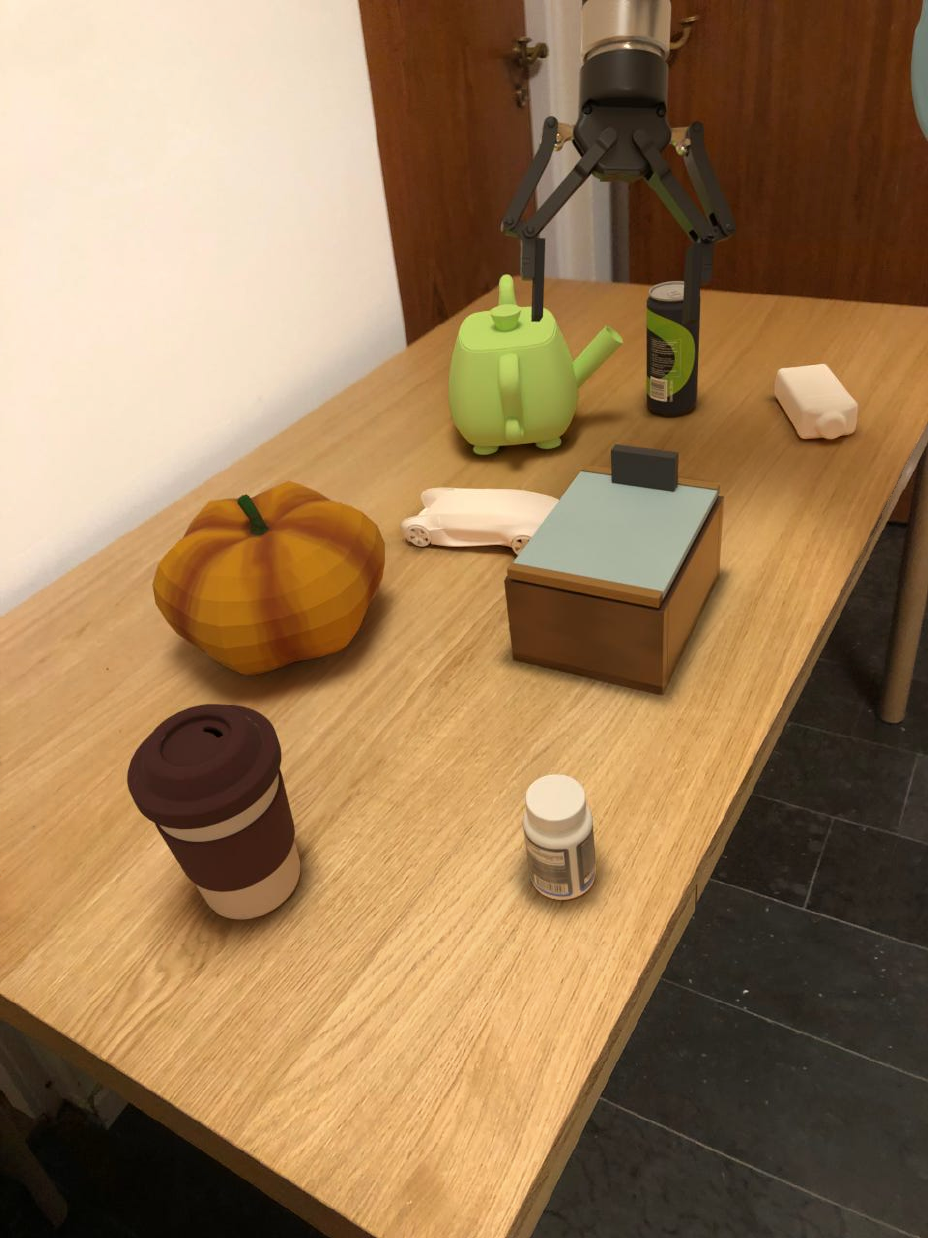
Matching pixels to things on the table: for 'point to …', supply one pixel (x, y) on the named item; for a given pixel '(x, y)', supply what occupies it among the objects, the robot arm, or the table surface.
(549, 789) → the pill bottle
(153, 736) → the coffee cup
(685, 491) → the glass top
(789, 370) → the white bottle
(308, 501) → the decorative pumpkin
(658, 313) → the beverage can
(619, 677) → the case
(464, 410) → the teapot
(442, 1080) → the table surface
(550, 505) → the toy car
